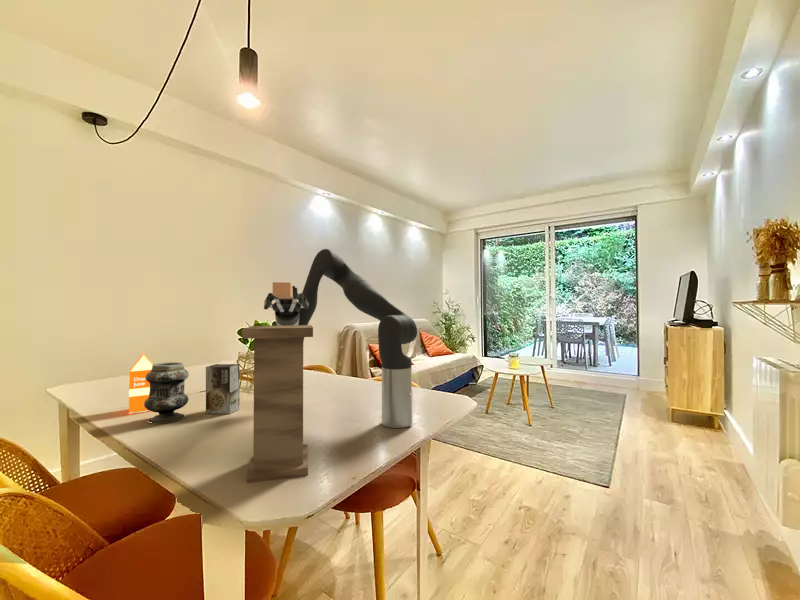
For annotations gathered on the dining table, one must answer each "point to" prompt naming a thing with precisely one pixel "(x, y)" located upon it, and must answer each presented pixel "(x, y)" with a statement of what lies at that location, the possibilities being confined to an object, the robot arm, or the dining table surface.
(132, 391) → the orange juice
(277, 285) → the block
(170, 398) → the apothecary jar
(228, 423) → the dining table surface
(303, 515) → the dining table surface
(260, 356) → the stand
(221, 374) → the coffee box
